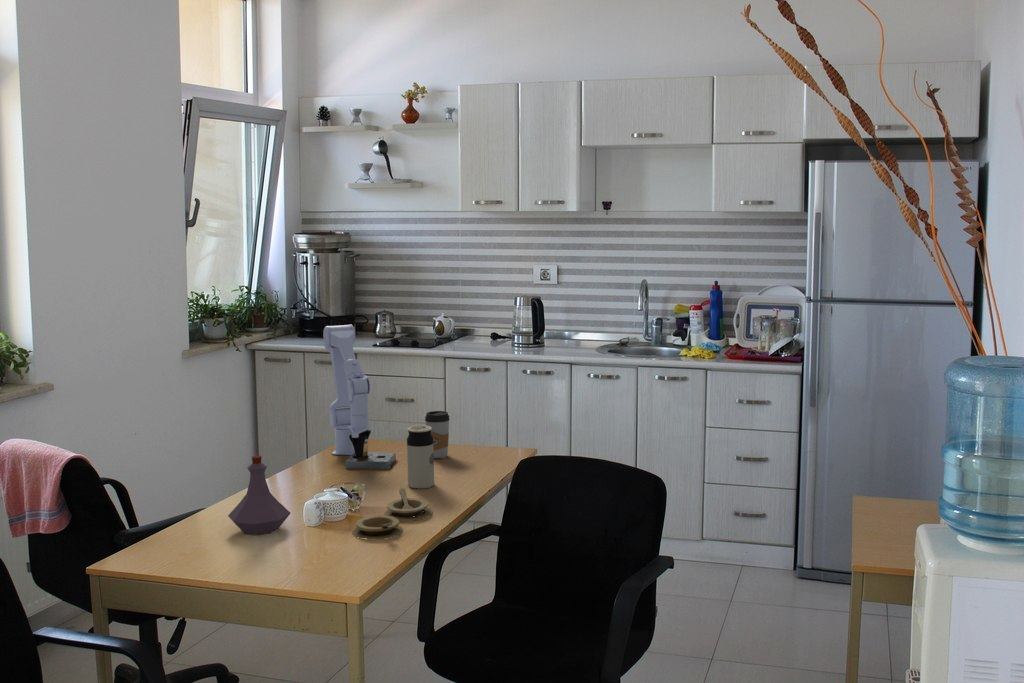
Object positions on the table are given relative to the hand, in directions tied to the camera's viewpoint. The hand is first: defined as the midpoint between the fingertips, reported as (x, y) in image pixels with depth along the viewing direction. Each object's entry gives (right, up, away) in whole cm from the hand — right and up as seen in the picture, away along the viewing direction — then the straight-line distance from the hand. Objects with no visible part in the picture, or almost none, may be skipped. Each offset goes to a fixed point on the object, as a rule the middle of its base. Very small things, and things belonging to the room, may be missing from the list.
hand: (360, 454), depth 339 cm
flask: (-17, -13, -65) cm, 69 cm away
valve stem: (0, -2, 0) cm, 2 cm away
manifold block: (+3, -3, 0) cm, 5 cm away
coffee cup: (+25, -2, +9) cm, 26 cm away
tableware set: (+18, -13, -61) cm, 64 cm away
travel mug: (+22, -7, -26) cm, 35 cm away
